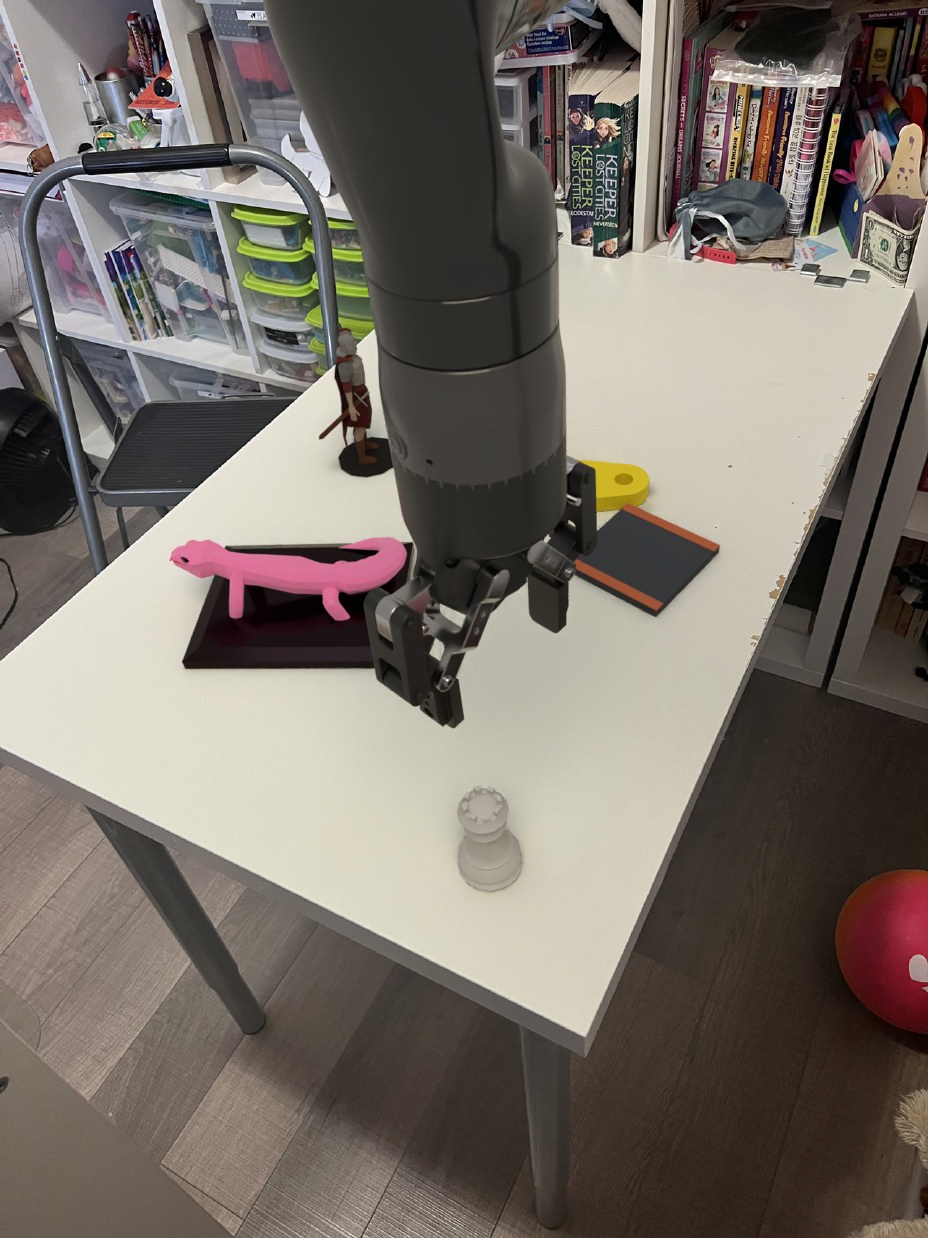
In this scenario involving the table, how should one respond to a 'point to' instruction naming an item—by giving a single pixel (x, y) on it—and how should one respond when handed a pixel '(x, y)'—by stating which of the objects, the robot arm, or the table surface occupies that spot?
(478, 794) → the rook chess piece
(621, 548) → the mat
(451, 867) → the table surface
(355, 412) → the figurine
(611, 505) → the crank
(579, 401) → the table surface
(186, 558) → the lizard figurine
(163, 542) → the table surface
